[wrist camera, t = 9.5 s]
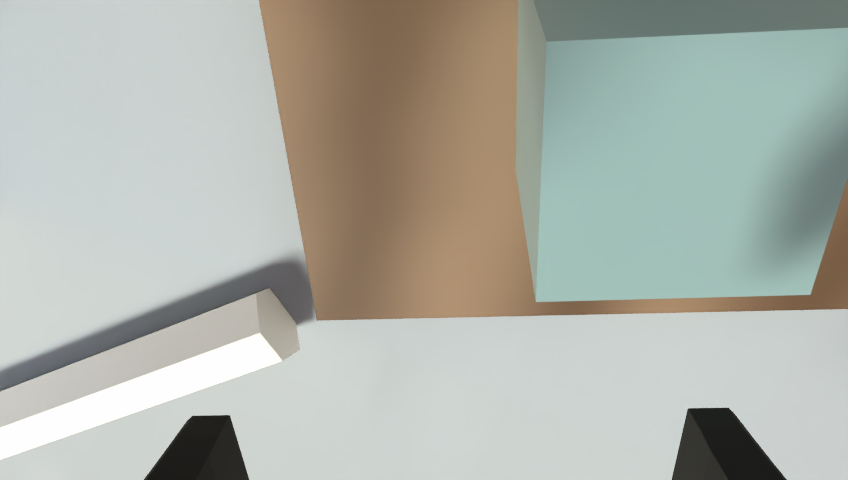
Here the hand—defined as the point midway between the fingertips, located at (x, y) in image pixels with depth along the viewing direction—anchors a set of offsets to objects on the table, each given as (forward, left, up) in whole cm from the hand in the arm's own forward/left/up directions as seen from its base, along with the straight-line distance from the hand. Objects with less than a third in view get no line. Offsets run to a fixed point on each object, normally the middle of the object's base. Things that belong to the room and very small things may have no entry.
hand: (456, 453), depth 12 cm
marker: (-13, -8, -10) cm, 18 cm away
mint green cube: (+4, +3, -8) cm, 9 cm away
